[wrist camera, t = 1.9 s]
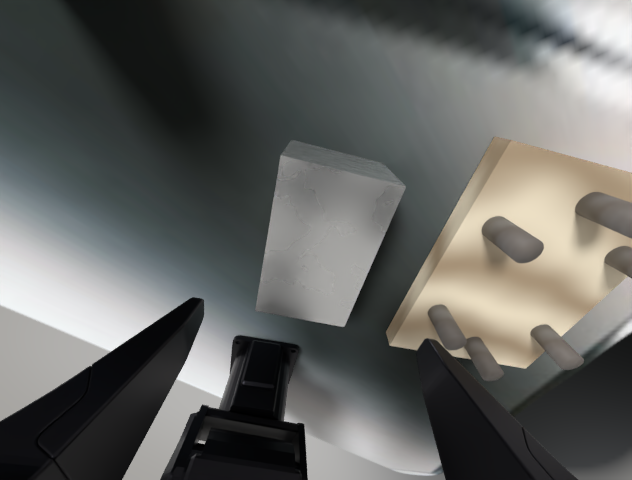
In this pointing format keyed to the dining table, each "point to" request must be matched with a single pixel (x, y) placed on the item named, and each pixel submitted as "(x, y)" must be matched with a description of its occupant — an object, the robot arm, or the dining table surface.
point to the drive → (324, 232)
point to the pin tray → (501, 277)
